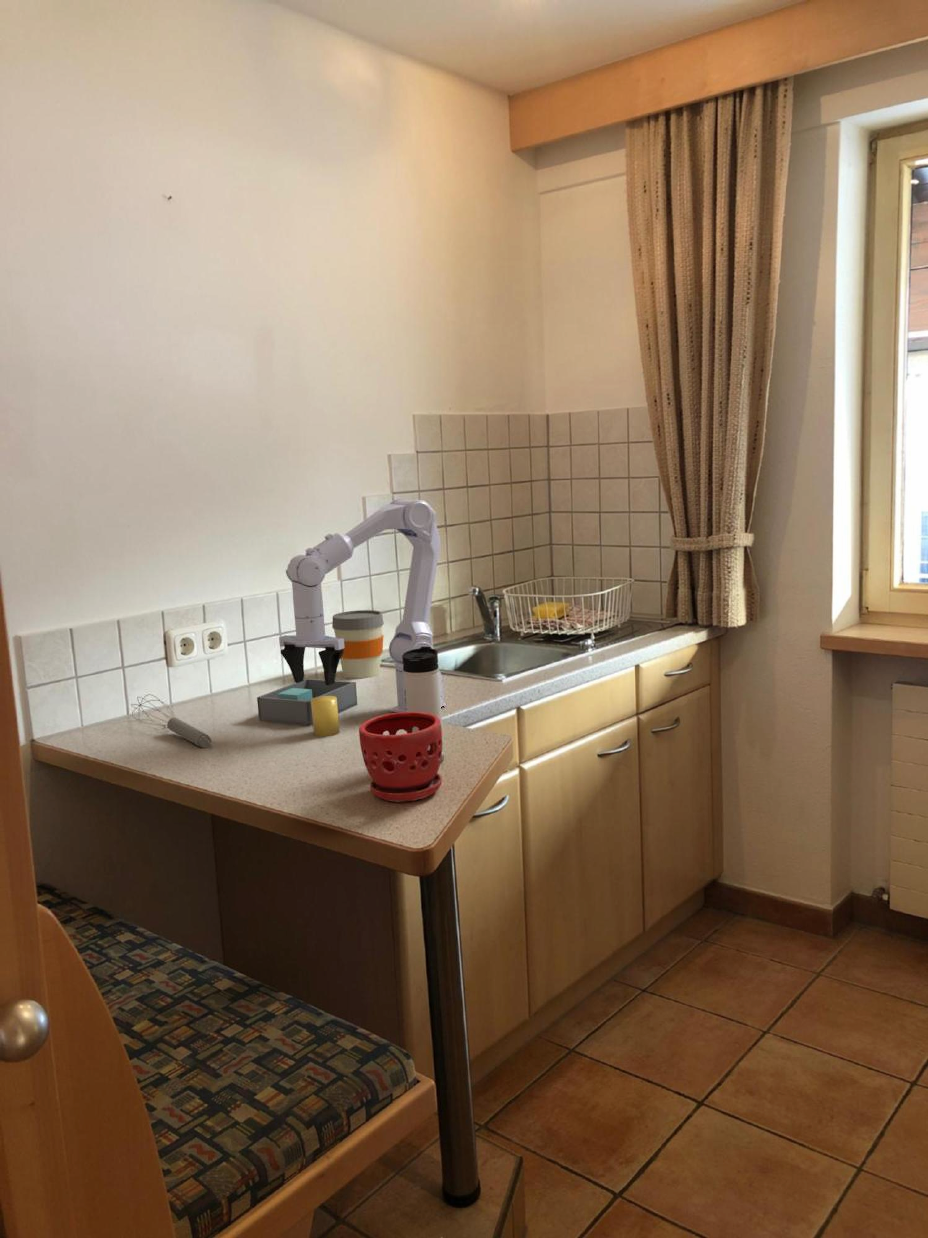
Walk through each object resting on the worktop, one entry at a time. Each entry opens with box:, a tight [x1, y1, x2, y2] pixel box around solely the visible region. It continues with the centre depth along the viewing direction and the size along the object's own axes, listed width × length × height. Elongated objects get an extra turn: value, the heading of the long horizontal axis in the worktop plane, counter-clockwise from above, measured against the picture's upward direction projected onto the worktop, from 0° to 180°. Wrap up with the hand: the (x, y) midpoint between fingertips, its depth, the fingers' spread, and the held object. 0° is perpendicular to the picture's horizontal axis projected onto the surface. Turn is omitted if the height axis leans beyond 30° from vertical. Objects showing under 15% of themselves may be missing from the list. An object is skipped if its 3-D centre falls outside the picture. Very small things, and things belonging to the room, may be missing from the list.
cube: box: [278, 688, 312, 701], centre depth 214 cm, size 5×5×5 cm
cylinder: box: [311, 696, 340, 738], centre depth 201 cm, size 5×5×7 cm
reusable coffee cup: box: [331, 609, 384, 680], centre depth 250 cm, size 13×13×15 cm
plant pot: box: [358, 712, 443, 803], centre depth 163 cm, size 13×13×12 cm
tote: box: [256, 678, 358, 726], centre depth 217 cm, size 17×13×5 cm
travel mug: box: [402, 647, 445, 763], centre depth 179 cm, size 6×7×20 cm
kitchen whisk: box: [131, 694, 213, 749], centre depth 207 cm, size 6×34×6 cm, turn 40°
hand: (314, 683), depth 203 cm, fingers open, 7 cm apart
